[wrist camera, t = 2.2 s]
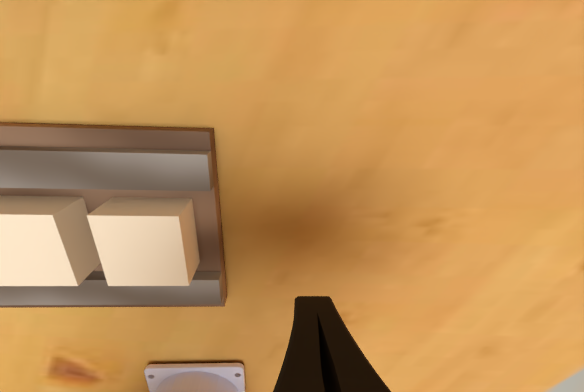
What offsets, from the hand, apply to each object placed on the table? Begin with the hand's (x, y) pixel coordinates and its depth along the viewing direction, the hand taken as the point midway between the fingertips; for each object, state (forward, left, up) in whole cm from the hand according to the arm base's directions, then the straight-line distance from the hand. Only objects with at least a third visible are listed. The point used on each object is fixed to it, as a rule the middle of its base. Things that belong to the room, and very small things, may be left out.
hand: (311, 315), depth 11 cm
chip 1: (0, +15, -6) cm, 16 cm away
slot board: (0, +14, -7) cm, 15 cm away
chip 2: (0, +9, -6) cm, 11 cm away
